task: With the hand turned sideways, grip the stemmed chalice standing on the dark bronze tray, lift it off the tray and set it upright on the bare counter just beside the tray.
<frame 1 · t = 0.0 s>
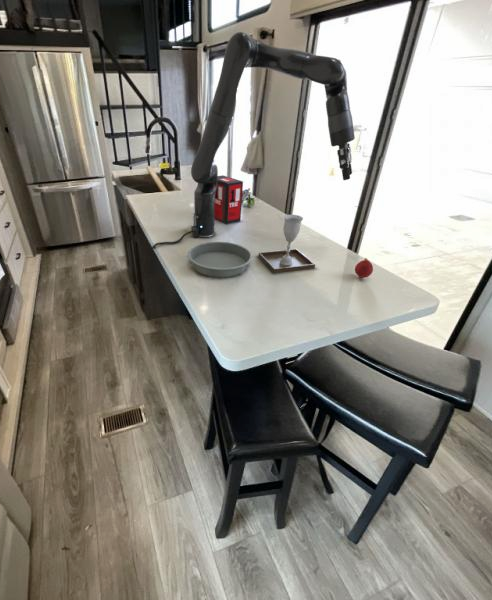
hand: (347, 177, 113), 31 cm above the countertop, tool tilted 20°, fingers open, 8 cm apart
cake pan: (219, 264, 124), on the countertop
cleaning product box: (224, 218, 170), on the countertop
tray: (285, 262, 126), on the countertop
chalice: (286, 262, 126), resting on tray
passion flower: (246, 205, 191), on the countertop
onion: (360, 278, 116), on the countertop
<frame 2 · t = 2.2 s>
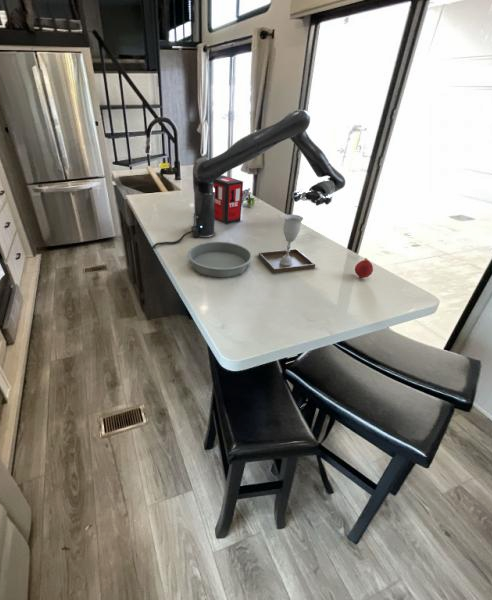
hand: (306, 200, 121), 22 cm above the countertop, tool horizontal, fingers open, 8 cm apart
nothing on the countertop moved.
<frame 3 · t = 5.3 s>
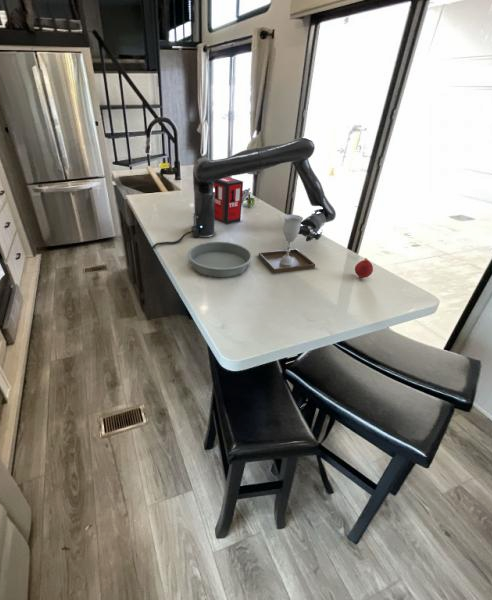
hand: (296, 236, 126), 9 cm above the countertop, tool horizontal, fingers open, 8 cm apart
nothing on the countertop moved.
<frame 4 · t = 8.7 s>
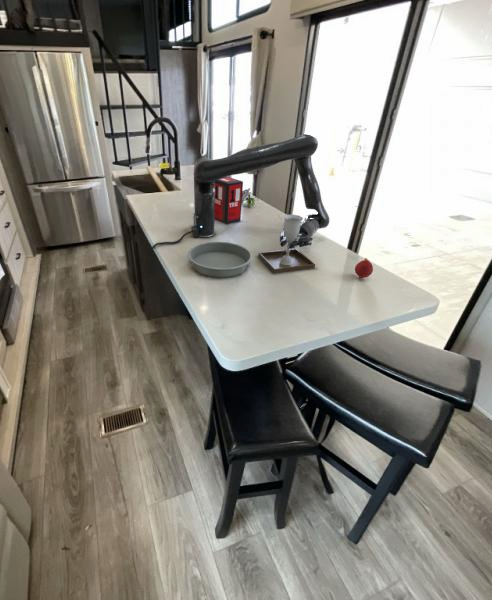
hand: (286, 245, 119), 9 cm above the countertop, tool horizontal, fingers closed on chalice, 3 cm apart
chalice: (286, 262, 126), resting on tray, touching gripper
everything else where it was.
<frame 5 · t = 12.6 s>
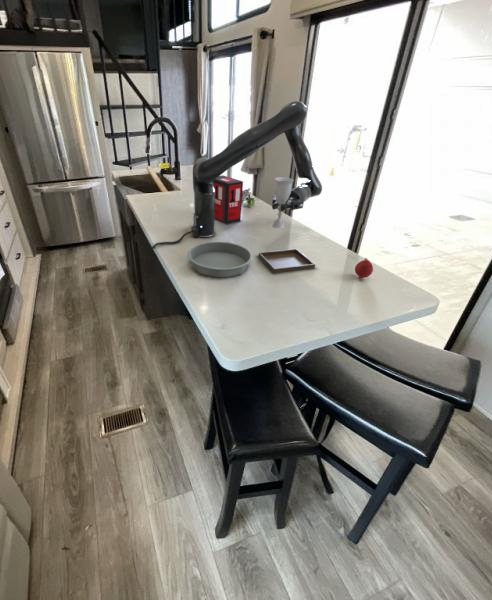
hand: (277, 207, 121), 20 cm above the countertop, tool horizontal, fingers closed on chalice, 3 cm apart
chalice: (278, 226, 128), point 11 cm above the countertop, touching gripper
everything else where it was.
when the fingers open (8 cm above the countertop, at t = 16.7 s): chalice stays where it is, on the countertop.
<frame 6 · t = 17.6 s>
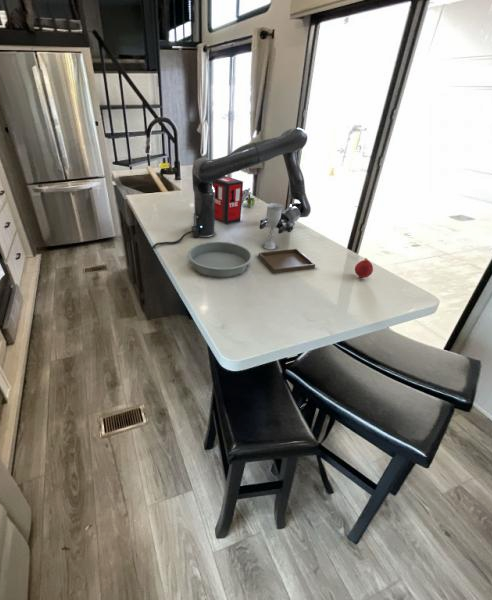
hand: (269, 229, 133), 9 cm above the countertop, tool horizontal, fingers open, 8 cm apart
chalice: (269, 247, 139), on the countertop
everything else where it was.
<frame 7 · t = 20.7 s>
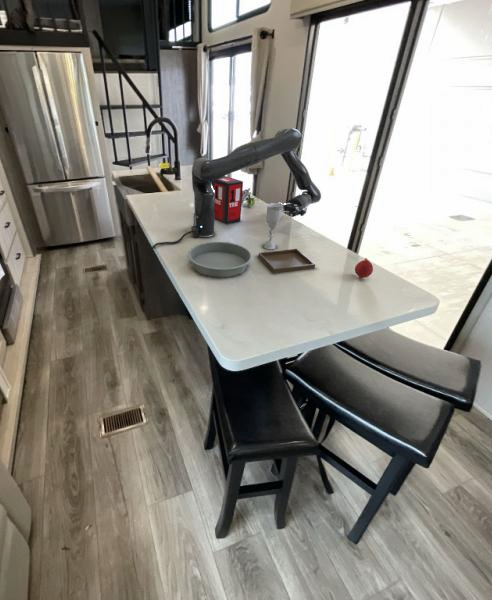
hand: (283, 212, 139), 12 cm above the countertop, tool horizontal, fingers open, 8 cm apart
nothing on the countertop moved.
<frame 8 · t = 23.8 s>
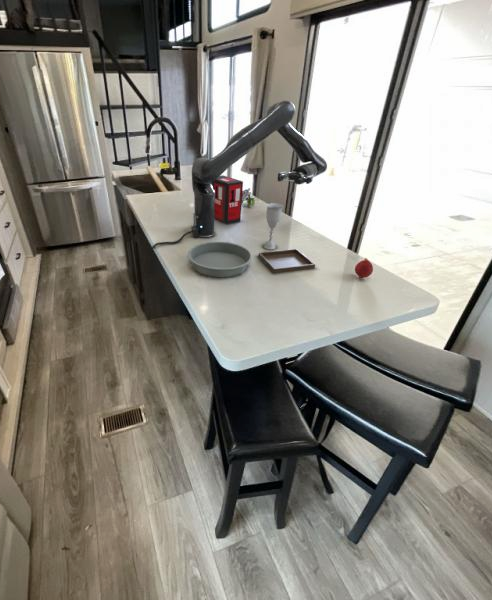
hand: (288, 180, 132), 26 cm above the countertop, tool horizontal, fingers open, 8 cm apart
nothing on the countertop moved.
at the end: chalice inside the target area (0.1 cm from its centre), on the countertop; chalice tilted 0°; chalice touching countertop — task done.
